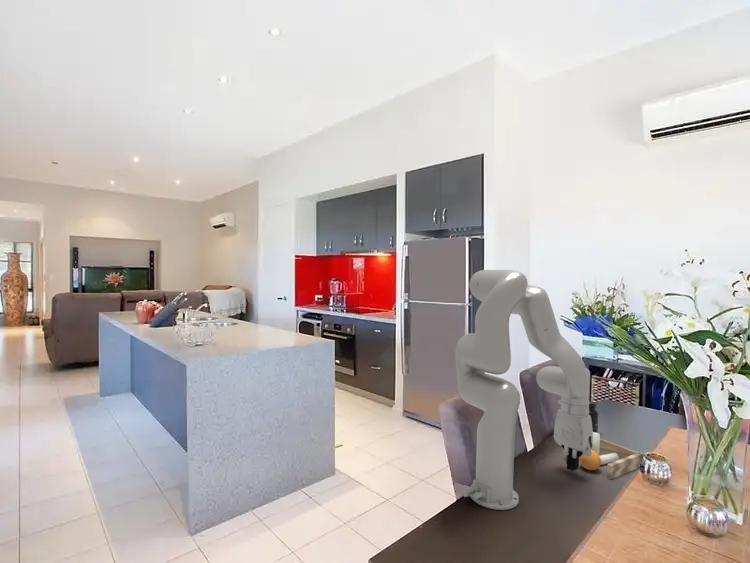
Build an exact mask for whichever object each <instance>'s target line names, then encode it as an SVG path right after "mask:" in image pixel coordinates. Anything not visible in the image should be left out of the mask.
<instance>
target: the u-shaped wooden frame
mask: <svg viewBox="0 0 750 563" xmlns="http://www.w3.org/2000/svg"><path fill="white" fill-rule="evenodd" d="M599 453H602V454H604V455H606V454H611V453H616V454H617V455H618V456H619V460H617V461H615V462H612V463H608V464H606V465H607V466H606V478H607V479H608V480H613V479H616V478H618V477H621V476H623V475H626V474H628V473H631V472H632V471H635V470H637V469H640V468H639V465H640V462H641V461H642V459H643V457H644V456H645V454H644V452H639V451H637V450H634V449H631V448H628V447H625V446H622V445H619V444H617V443H614V442H611V441H609V440H606V439H602V438H601V437H600V449H599ZM563 459H564V460H567V455H566V454H565V451H564V450H563ZM643 460H644V459H643Z"/></svg>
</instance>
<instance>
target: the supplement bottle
mask: <svg viewBox="0 0 750 563" xmlns="http://www.w3.org/2000/svg"><path fill="white" fill-rule="evenodd" d="M589 415H590V416H591V421H592V429H593V432H596V433H599V417H600V416H599V415H600V414H599V411H598V410H597V402H595V401H593V400H589Z"/></svg>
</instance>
